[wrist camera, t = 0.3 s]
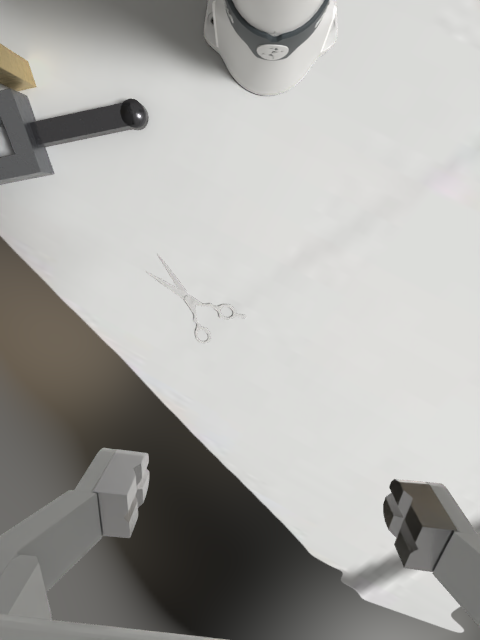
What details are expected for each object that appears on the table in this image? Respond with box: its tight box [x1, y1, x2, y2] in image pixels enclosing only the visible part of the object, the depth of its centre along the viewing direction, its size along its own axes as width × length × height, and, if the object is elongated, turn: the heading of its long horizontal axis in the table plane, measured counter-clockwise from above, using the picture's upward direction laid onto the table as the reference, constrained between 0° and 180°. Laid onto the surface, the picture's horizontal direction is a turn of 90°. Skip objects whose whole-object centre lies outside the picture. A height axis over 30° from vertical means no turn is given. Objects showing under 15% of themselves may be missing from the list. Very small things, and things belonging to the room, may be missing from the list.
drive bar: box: [0, 44, 36, 91], centre depth 42 cm, size 3×3×8 cm
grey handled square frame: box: [0, 88, 148, 185], centre depth 47 cm, size 11×29×4 cm, turn 100°
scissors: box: [147, 255, 246, 343], centre depth 58 cm, size 11×1×20 cm
